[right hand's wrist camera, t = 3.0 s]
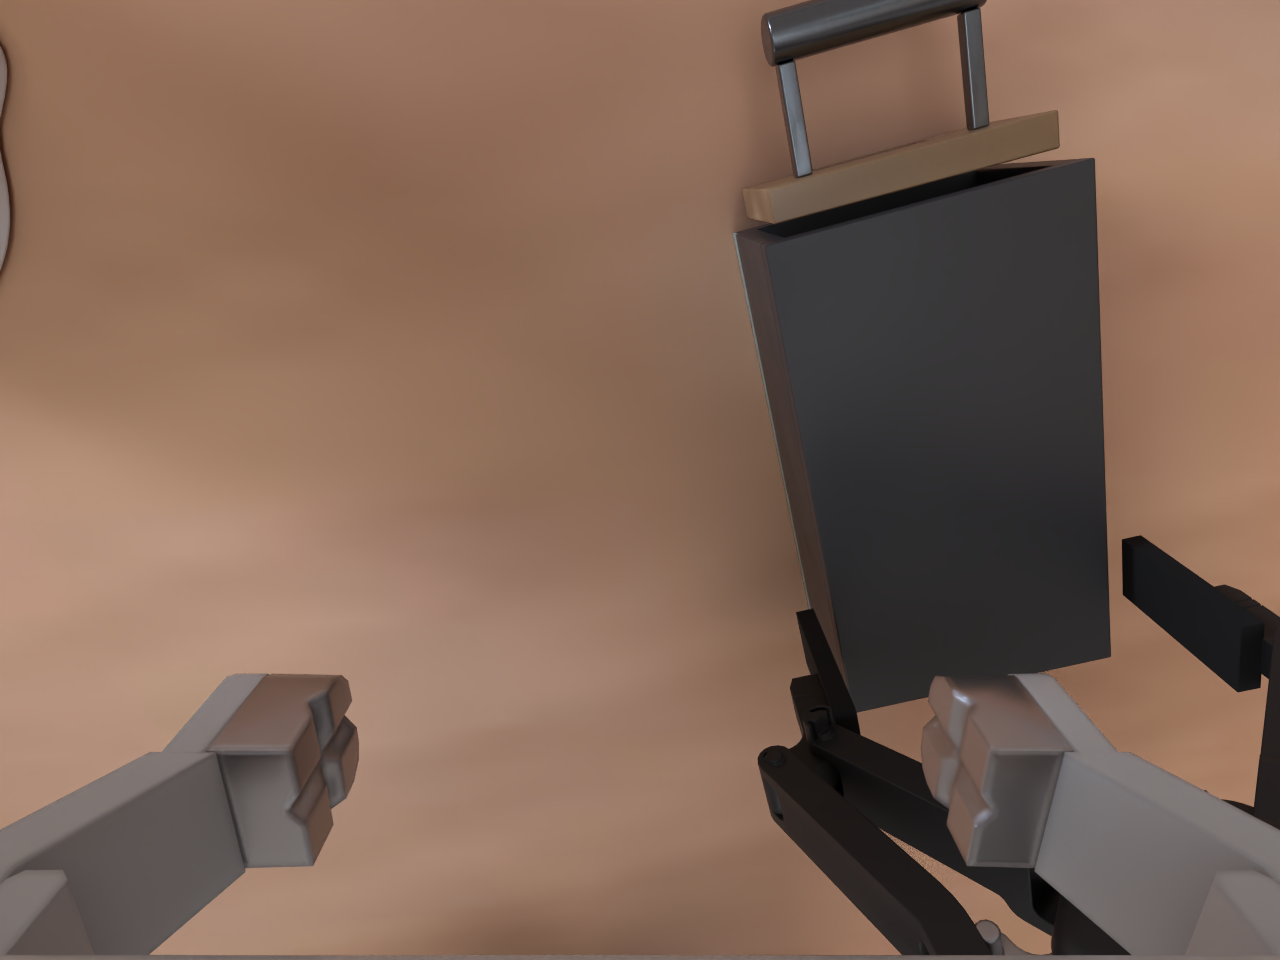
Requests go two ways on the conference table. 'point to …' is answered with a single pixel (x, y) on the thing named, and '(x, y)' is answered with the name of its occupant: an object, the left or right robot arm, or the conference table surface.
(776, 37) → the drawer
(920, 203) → the dark boxy piece
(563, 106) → the conference table surface
